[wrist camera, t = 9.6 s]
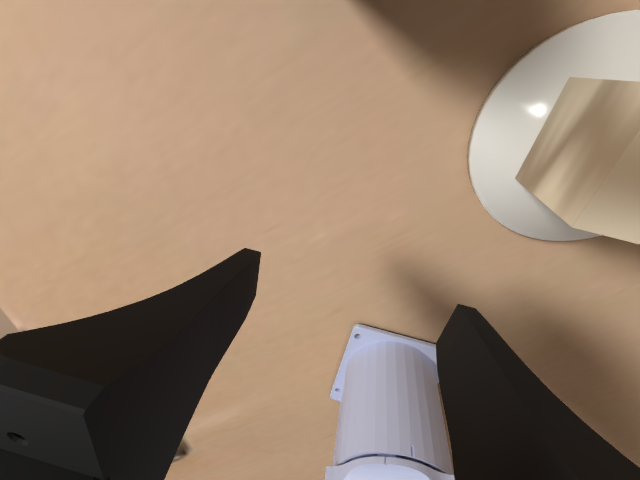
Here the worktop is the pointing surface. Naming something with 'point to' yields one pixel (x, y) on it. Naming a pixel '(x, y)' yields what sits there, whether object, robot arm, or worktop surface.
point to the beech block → (590, 158)
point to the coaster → (542, 116)
